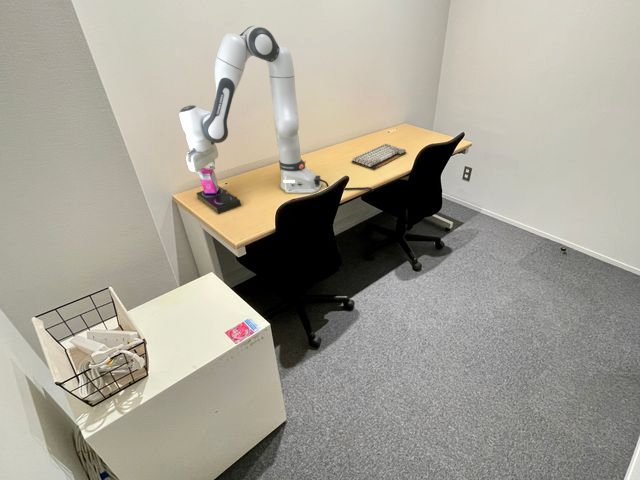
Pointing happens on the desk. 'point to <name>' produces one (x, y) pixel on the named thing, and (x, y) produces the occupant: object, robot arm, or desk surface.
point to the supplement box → (209, 181)
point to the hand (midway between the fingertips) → (207, 173)
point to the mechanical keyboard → (378, 156)
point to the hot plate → (219, 200)
